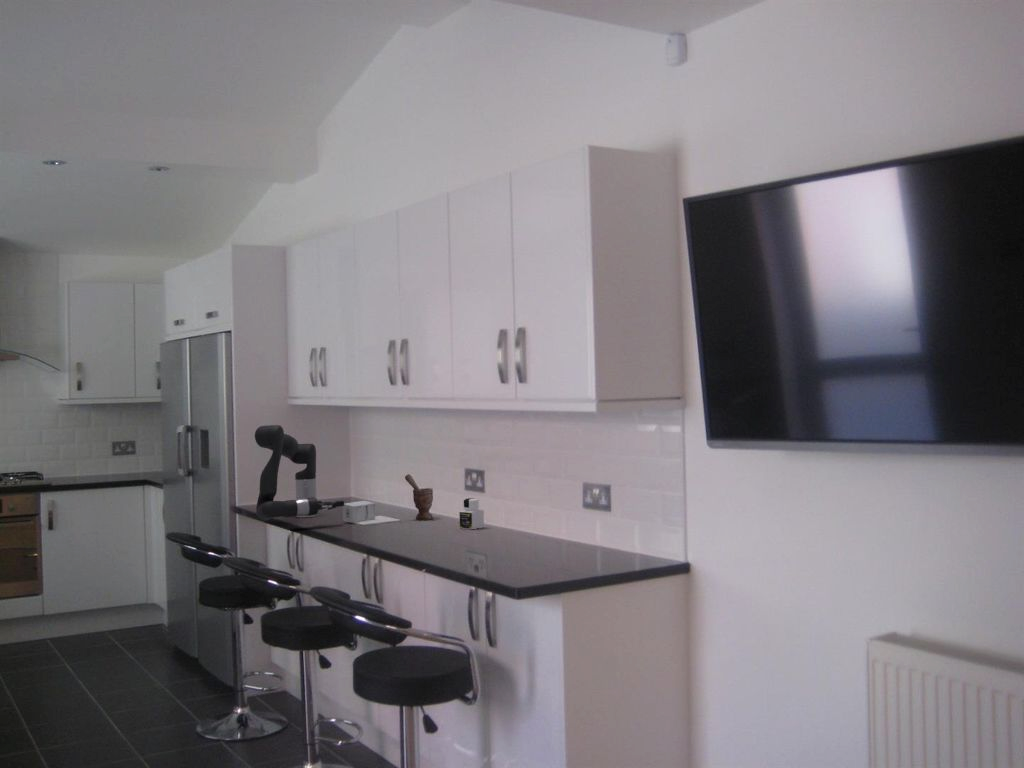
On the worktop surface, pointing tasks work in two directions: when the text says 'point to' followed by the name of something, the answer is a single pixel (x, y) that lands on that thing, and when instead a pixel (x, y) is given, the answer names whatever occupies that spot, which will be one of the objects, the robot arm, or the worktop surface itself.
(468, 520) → the medicine bottle
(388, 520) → the mat
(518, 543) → the worktop surface
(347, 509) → the supplement box
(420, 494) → the mortar and pestle
